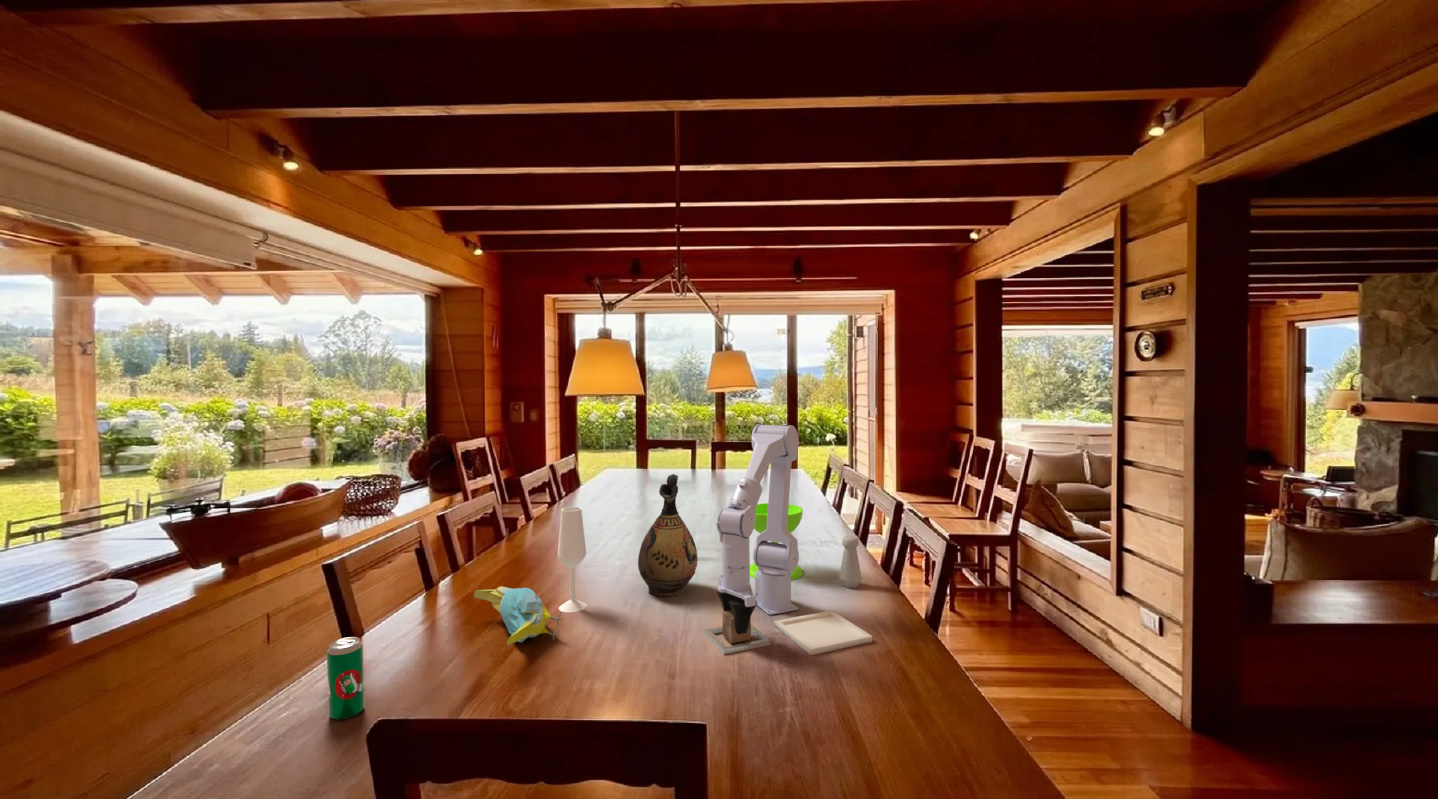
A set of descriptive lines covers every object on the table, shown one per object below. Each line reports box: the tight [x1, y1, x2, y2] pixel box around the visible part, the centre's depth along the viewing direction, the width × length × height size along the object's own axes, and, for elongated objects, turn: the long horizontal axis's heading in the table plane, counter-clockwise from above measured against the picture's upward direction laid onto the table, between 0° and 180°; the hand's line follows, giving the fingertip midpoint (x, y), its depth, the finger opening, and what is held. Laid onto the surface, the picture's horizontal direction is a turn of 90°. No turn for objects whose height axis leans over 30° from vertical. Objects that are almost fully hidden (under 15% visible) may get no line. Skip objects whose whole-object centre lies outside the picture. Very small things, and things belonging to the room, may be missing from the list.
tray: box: [774, 609, 873, 656], centre depth 128 cm, size 15×15×1 cm
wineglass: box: [750, 502, 804, 581], centre depth 168 cm, size 16×16×18 cm
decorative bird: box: [473, 586, 563, 646], centre depth 127 cm, size 14×30×9 cm, turn 33°
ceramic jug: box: [637, 473, 698, 598], centre depth 155 cm, size 17×15×30 cm
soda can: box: [326, 636, 366, 721], centre depth 98 cm, size 5×5×12 cm
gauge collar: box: [703, 623, 771, 655], centre depth 125 cm, size 10×10×1 cm
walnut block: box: [722, 610, 752, 644], centre depth 125 cm, size 4×4×5 cm
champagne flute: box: [557, 506, 588, 614], centre depth 143 cm, size 7×7×24 cm
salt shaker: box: [838, 535, 862, 589], centre depth 157 cm, size 6×6×13 cm
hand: (736, 628), depth 125 cm, fingers closed on walnut block, 4 cm apart
